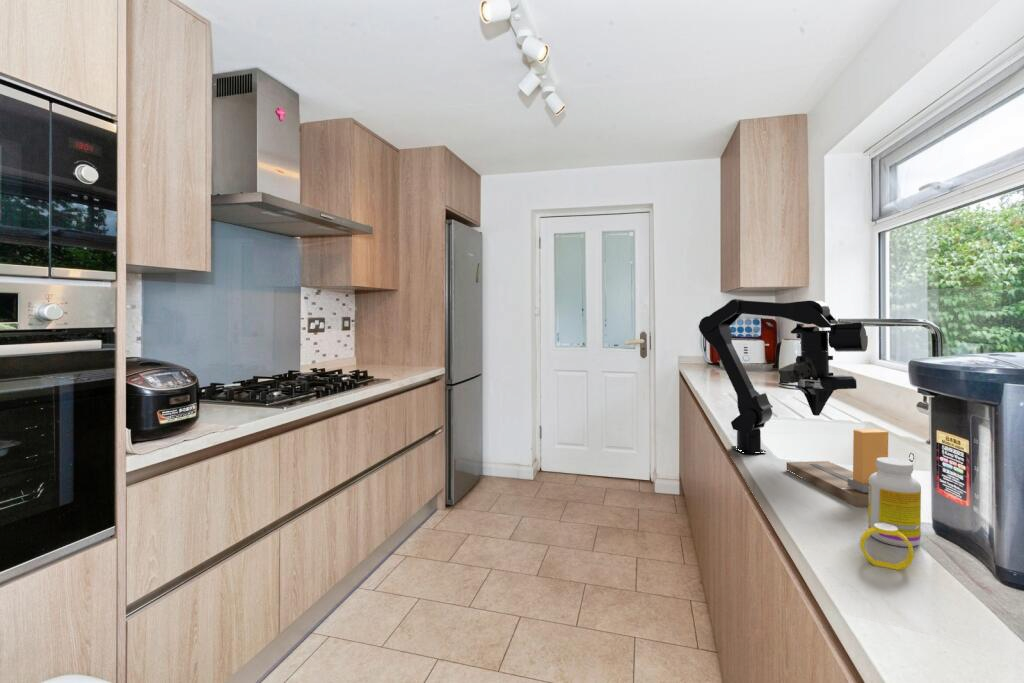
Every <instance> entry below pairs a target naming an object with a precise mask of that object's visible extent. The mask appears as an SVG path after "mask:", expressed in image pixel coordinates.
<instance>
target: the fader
mask: <svg viewBox="0 0 1024 683" xmlns="http://www.w3.org/2000/svg"><path fill="white" fill-rule="evenodd" d="M852 440H853V441H852V442H853V444H852V446H853V448H852V449H853V450H852V452H853V453H852V455H853V456H852V472H853V478H848V486H850V487H852V488H854V489H856V490H858V491H860V492H863V493H869V477H870V476H871V475H872V474H873V473H876V472H878V468H877V466H876V459H877V458H880V457H889V431H886V430H883V429H878V428H875V429H872V428H871V429H870V428H869V429H868V428H867V429H864V428H863V429H853V439H852Z"/></svg>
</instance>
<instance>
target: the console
mask: <svg viewBox="0 0 1024 683" xmlns="http://www.w3.org/2000/svg"><path fill="white" fill-rule="evenodd" d="M786 469H787V470H789V471H791V472H793V473H795V474H796V475H798V476H800V477H802V478H803V479H802V478H801V479H802V480H804V479H805V480H804V481H806V480H807V481H806V482H808V483H810V484H811V483H812V485H813V484H814V486H816V487H818V488H819V489H822V490H823V491H825V492H827V493H829V494H831V495H833V496H835V497H837V498H839V499H841V500H842V501H845V502H846V503H848V504H851V505H852V506H854V507H856V508H860V507H861V508H863V507H864V508H865V507H869V493H863V492H860V491H858V490H856V489H854V488H852V487H850V486H848V478H853V470H850V469H847V468H845V467H843V466H840V465H838V464H835V463H833V462H831V461H829V460H823V461H820V460H818V461H789V462H786ZM796 475H795V476H796ZM798 476H797V477H798ZM800 477H799V478H800Z"/></svg>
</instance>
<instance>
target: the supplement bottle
mask: <svg viewBox="0 0 1024 683" xmlns="http://www.w3.org/2000/svg"><path fill="white" fill-rule="evenodd" d="M876 466H877V468H878V472H876V473H873V474H872V475H871V476H870V477H869V507H868V508H867V509H868V515H867V516H868V519H867V520H868V521H867V524H868V526H867V527H868V529H869V528H872V527H874V524H875V523H886V524H890V525H893V526H895V527H897V528H898V531H899V532H901V533H902V534H904V536H906V538H907V539H908V541H909V542H910V544H911V545H912V547H913V548H914V547H916V546H918V545H919V544H920V543H921V536H922V535H921V526H922V525H921V521H922V518H921V512H922V511H921V509H922V506H921V505H922V486H921V484H920V482H919V480H916V478H914V477H912V474H913V472H914V463H913V462H912V461H910V460H906V459H902V458H896V457H889V456H888V457H880V458H877V459H876ZM870 536H871V537H873V538H874V539H875V540H878V541H880V542H882V543H884V544H887V545H892V546H896V547H903V548H905V547H906V548H908V545H907V544H906V542H905V541H904V540H903V539H902V538H900V537H899V536H897V535H885V534H881V533H879V532H877V533H873V534H871V535H870Z"/></svg>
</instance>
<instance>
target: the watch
mask: <svg viewBox="0 0 1024 683" xmlns="http://www.w3.org/2000/svg"><path fill="white" fill-rule="evenodd" d="M877 532H879V533H881V534H885V535H897V536H899V537H900V538H902V539H903V540H904V541H905V542H906V544H907V545H908V547H907V549H908V554H907V555H906V557H905V558H904V560H903V561H899V562H898V563H893V562H892V563H891V562H886V561H881V560H876V559H874V557H872V556H871V555H870V554H868V552H867V550H866V548H865V546H866V545H865V544H866V540H867V539H868V538H870V536H871V534H873V533H877ZM859 545H860V548H861V551H862V553H863V555H864V558H865V559H866V560H868V561H869V563H871V564H872V565H873V566H875V567H879V568H880V567H881V568H887V569H892V570H896V571H902V570H905V569H906V568H908V567H910V565H911V564H912V562H913V560H914V559H915V555H914V546H913V547H912V545H911V544H910V542H909V541H908V539H907V538H906V536H904V534H902V533H901V532H899V531H898V528H897V527H895V526H893V525H890V524H886V523H875V524H874V527H872V528H869V529H866V530H865V531H864V532H863V533H862V534H861V536H860V542H859Z"/></svg>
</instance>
